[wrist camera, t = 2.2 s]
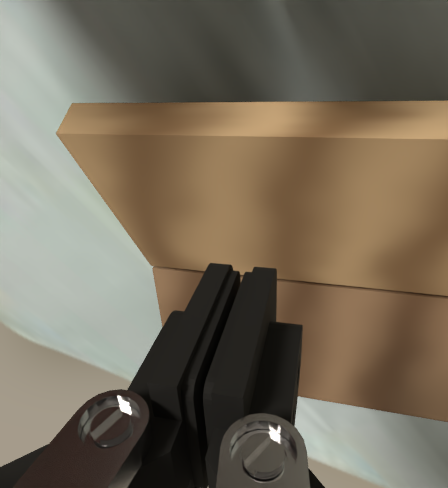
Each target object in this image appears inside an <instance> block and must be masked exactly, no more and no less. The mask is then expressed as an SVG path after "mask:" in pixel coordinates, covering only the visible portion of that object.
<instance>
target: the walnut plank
mask: <svg viewBox="0 0 448 488" xmlns="http://www.w3.org/2000/svg"><path fill="white" fill-rule="evenodd" d="M152 269H153V274H154V280H155V286H156V292H157V298H158V303H159V309H160V315H161V321H162V326H164V324H165V322H166V320H167V319H168V317H169V315H170V314H171V313H172V312H173V311H174V310H177V311H185V309H186V307H187V305H188V303H189V301H190V299H191V297H192V295H193V294H194V292H195V290H196V288H197V286H198V284H199V282H200V280H201V278H202V276H203V274H204V272H205V271H198V270H189V269H179V268H169V267H159V266H154V267H153V268H152ZM243 276H244V275H240V279H241V281H242V278H243ZM276 322H282V323H291V324H300V325H303V334H302V353H301V367H300V378H299V388H298V396H300V397H306V398H312V399H318V400H323V401H329V402H335V403H341V404H347V405H352V406H358V407H364V408H370V409H376V410H381V411H387V412H393V413H399V414H404V415H410V416H416V417H422V418H428V419H433V420H439V421H445V422H448V296H443V295H433V294H423V293H413V292H404V291H394V290H384V289H374V288H365V287H355V286H345V285H335V284H325V283H316V282H306V281H296V280H286V279H277V314H276Z"/></svg>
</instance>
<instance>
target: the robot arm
mask: <svg viewBox="0 0 448 488" xmlns="http://www.w3.org/2000/svg"><path fill="white" fill-rule="evenodd" d="M276 314H277V269H276V268H265V267H254V268H253V270H252V272H245V273H244V276H243V278H242V281H241V279H240V272H239V271H233V267H232V265H230V264H218V263H209V265H208V267H207V269H206V270H205V272H204V274H203V276H202V278H201V280H200V282H199V284H198V286H197V288H196V290H195V292H194V294H193V295H192V297H191V299H190V301H189V303H188V305H187V307H186V309H185V311H177V310H174V311H173V312H172V313H171V314H170V315H169V317H168V319H167V320H166V322H165V324H164V326H163V328H162V329H161V331H160V333H159V335H158V336H157V338H156V340H155V342H154V344H153V345H152V347H151V349H150V351H149V352H148V354H147V356H146V358H145V360H144V361H143V363H142V365H141V367H140V368H139V370H138V372H137V374H136V376H135V377H134V379H133V381H132V383H131V385H130V386H129V388H128V390H122V389H121V390H112V391H107V392H104V393H101V394H98V395H97V396H95V397H93V398H91V399H90V400H88V401H87V402H86V403H85V404H84V405H83V406H82V407H80V408H79V410H77V412H76V413H75V414H74V415H73V416H72V418H71V419H70V420H69V421H68V422H67V423H66V425H65V426H64V427H63V428H62V429H61V431H60V432H59V433H58V434H57V435H56V437H55V438H54V439H53V440H52V441H51V442H50V444H48V445H45V446H43V447H41V448H39V449H37V450H35V451H33V452H31V453H29V454H27V455H25V456H23V457H21V458H19V459H16V460H14V461H12V462H10V463H8V464H6V465H4V466H2V467H0V488H207V487H208V486H209V488H325V487H324V486H323V485H322V484H321V483H320V481H319V480H318V479H317V478H316V476H315V475H314V474H313V473H312V472H311V471H310V469H309V468H308V459H307V451H306V447H305V443H304V439H303V438H302V436H301V435H300V433H299V432H298V430H297V429H296V428H295V427H294V425H295V415H296V406H297V397H298V388H299V378H300V367H301V353H302V334H303V325H300V324H291V323H282V322H276Z"/></svg>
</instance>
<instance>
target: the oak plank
mask: <svg viewBox="0 0 448 488" xmlns="http://www.w3.org/2000/svg"><path fill="white" fill-rule="evenodd" d="M56 134H57V136H58V137H59V139H60V140H61V141H62V143H63V144H64V145H65V147H66V148H67V150H68V151H69V152H70V154H71V155H72V157H73V158H74V159H75V161H76V162H77V163H78V165H79V166H80V168H81V169H82V170H83V172H84V173H85V175H86V176H87V177H88V179H89V180H90V182H91V183H92V184H93V186H94V187H95V188H96V190H97V191H98V193H99V194H100V195H101V197H102V198H103V200H104V201H105V202H106V204H107V205H108V206H109V208H110V209H111V211H112V212H113V213H114V215H115V216H116V218H117V219H118V220H119V222H120V223H121V225H122V226H123V227H124V229H125V230H126V231H127V233H128V234H129V236H130V237H131V238H132V240H133V241H134V243H135V244H136V245H137V247H138V248H139V249H140V251H141V252H142V254H143V255H144V256H145V258H146V259H147V261H148V262H149V263H150V265H151V266H159V267H169V268H179V269H189V270H198V271H205V270H206V269H207V267H208V265H209V263H218V264H230V265H232V267H233V271H239V272H240V275H244V273H245V272H252V270H253V268H254V267H265V268H276V269H277V279H286V280H296V281H306V282H316V283H325V284H335V285H345V286H355V287H365V288H374V289H384V290H394V291H404V292H413V293H423V294H433V295H443V296H448V101H328V102H184V103H72V104H71V106H70V108H69V110H68V112H67V114H66V115H65V117H64V119H63V121H62V123H61V125H60V127H59V129H58V131H57V132H56Z"/></svg>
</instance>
